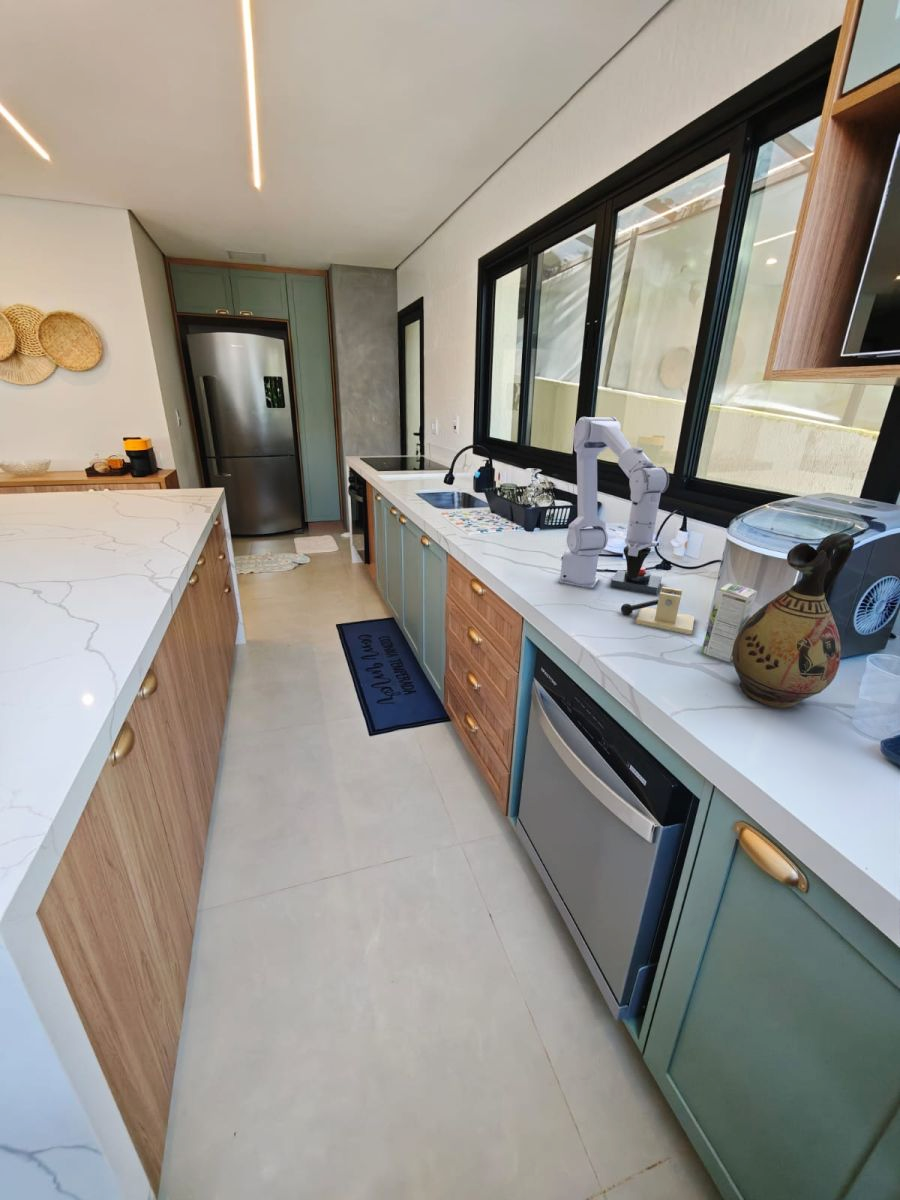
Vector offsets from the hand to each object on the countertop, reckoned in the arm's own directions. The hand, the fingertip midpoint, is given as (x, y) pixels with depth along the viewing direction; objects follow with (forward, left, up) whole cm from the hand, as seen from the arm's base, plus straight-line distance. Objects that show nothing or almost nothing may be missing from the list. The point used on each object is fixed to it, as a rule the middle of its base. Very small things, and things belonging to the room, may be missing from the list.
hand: (632, 577), depth 120 cm
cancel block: (-1, +20, -9) cm, 22 cm away
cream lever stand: (+9, -2, -9) cm, 13 cm away
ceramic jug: (+30, -25, -9) cm, 40 cm away
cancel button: (-1, +20, -5) cm, 21 cm away
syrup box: (+21, -13, -9) cm, 26 cm away
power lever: (+5, -2, -7) cm, 9 cm away
